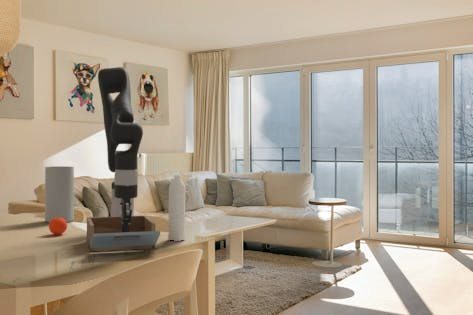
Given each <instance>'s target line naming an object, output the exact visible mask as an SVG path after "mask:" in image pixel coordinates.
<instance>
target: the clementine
mask: <svg viewBox="0 0 473 315" xmlns="http://www.w3.org/2000/svg"><path fill="white" fill-rule="evenodd" d="M48 229H49V231H50V233H52V234H53V235H56V236H60V235H63V234H64V233H65V232H66V231H67V229H68V222H66V221H65V220H64V219H63V218H60V217H56V218H53V219H52V220H51V221H50V223H49V222H48Z"/></svg>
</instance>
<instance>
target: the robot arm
mask: <svg viewBox="0 0 473 315" xmlns="http://www.w3.org/2000/svg"><path fill="white" fill-rule="evenodd" d="M97 82H98V87H99V88H98V89H99V93H100V98H101V104H102V111H103V112H102V114H103V123H104V124H103V125H104V132H105V139H106V148H107V165H108V170H109V171H110V172H112V173H114V179H113V180H114V181H112V182H111V211H110V212H111V213H110V214H111V216H110V217H116V216H121V223H122V232H129V224H130V223H131V216H135V214H134V213H135V212H134V211H135V210H134V209H135V206H134V205H135V199H136V198H137V197H138V188H139V187H138V184H139V182H138V178H139V177H138V176H139V175H138V154H139V148H140V145H141V143H142V139H143V135H144V130H143V127H142V126H141V125H140V123H137V122H134V121H135V117H134V116H135V115H134V111H133V108H132V102H131V96H132V94H131V82H130V76H129V72H128V70H127V69H126V67H123V66H118V67H110V68H109V67H108V68H101V69H99V70H98V72H97ZM111 94H118V95H116V97H115V98H114V99H113V98H112V96H111ZM119 145H130V147H129V148H128V149H126V150H117V149H118V147H119Z"/></svg>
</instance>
